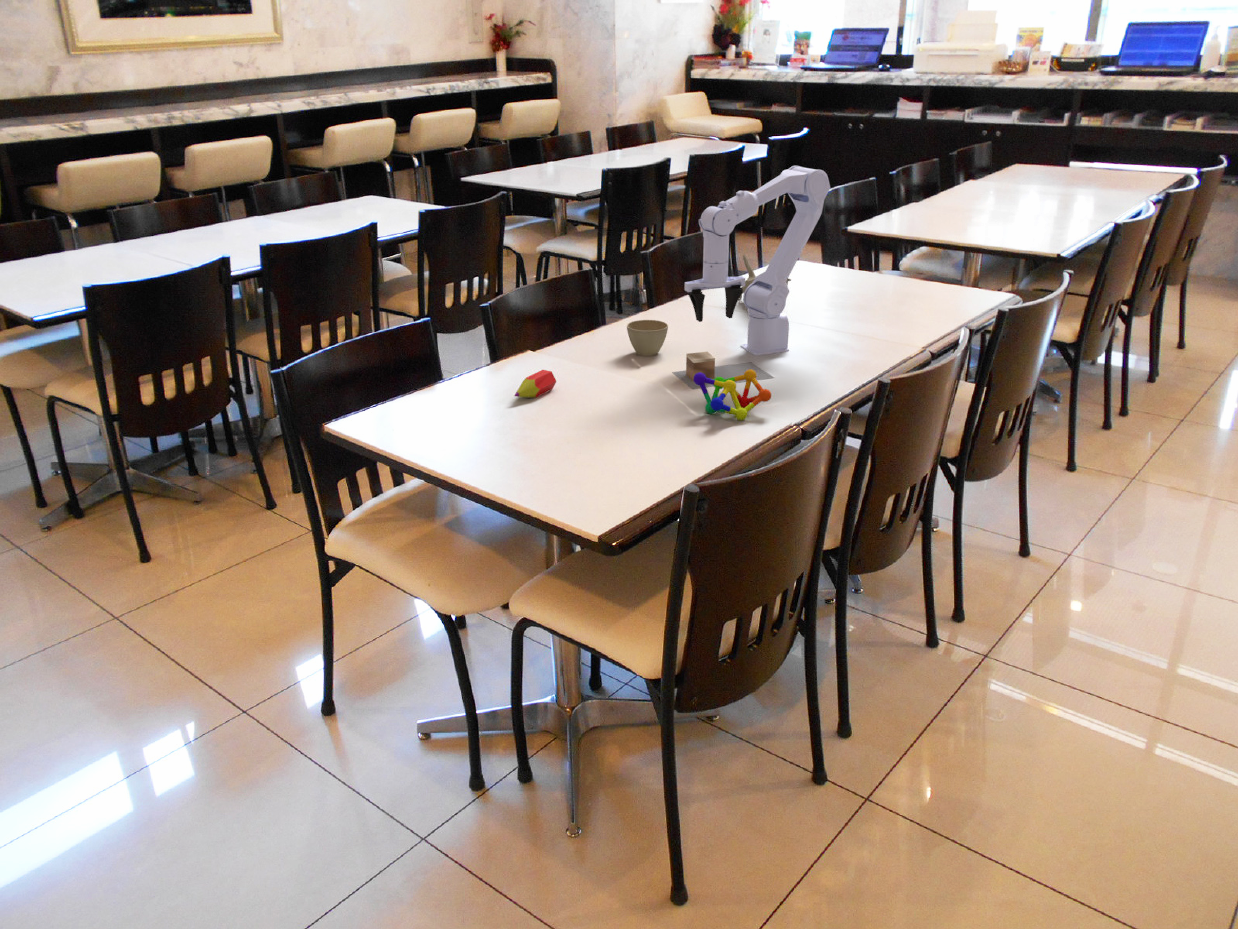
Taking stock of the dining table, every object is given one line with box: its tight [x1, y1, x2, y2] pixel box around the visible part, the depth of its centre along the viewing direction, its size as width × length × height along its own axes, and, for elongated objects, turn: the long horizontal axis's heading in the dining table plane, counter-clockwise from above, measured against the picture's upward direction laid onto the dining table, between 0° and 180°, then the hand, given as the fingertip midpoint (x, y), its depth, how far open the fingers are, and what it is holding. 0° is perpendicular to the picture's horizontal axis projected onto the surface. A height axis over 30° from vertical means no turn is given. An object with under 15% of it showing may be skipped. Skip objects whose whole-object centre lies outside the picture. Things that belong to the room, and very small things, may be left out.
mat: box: [672, 361, 775, 390], centre depth 213 cm, size 20×12×1 cm, turn 109°
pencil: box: [513, 369, 557, 399], centre depth 203 cm, size 5×12×4 cm, turn 148°
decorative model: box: [694, 369, 772, 421], centre depth 192 cm, size 13×9×15 cm
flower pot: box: [626, 319, 669, 357], centre depth 228 cm, size 10×10×7 cm
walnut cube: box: [685, 351, 716, 382], centre depth 211 cm, size 5×5×5 cm
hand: (714, 318), depth 220 cm, fingers open, 7 cm apart
